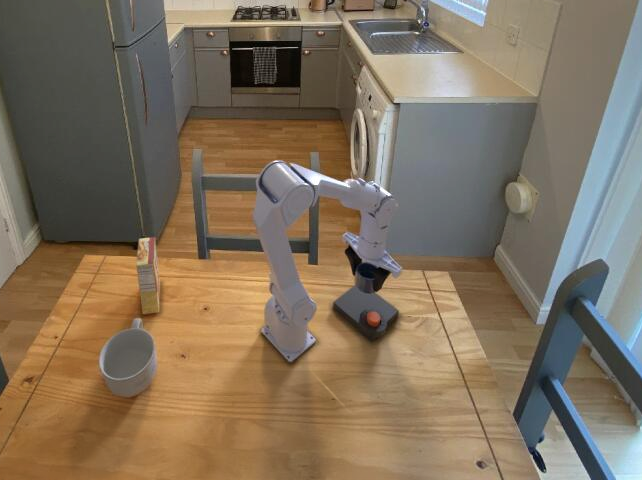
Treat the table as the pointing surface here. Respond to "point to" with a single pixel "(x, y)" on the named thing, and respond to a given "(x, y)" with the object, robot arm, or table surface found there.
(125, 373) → the teacup
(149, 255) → the candy box
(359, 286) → the cup
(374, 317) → the tare button
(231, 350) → the table surface
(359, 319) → the scale
